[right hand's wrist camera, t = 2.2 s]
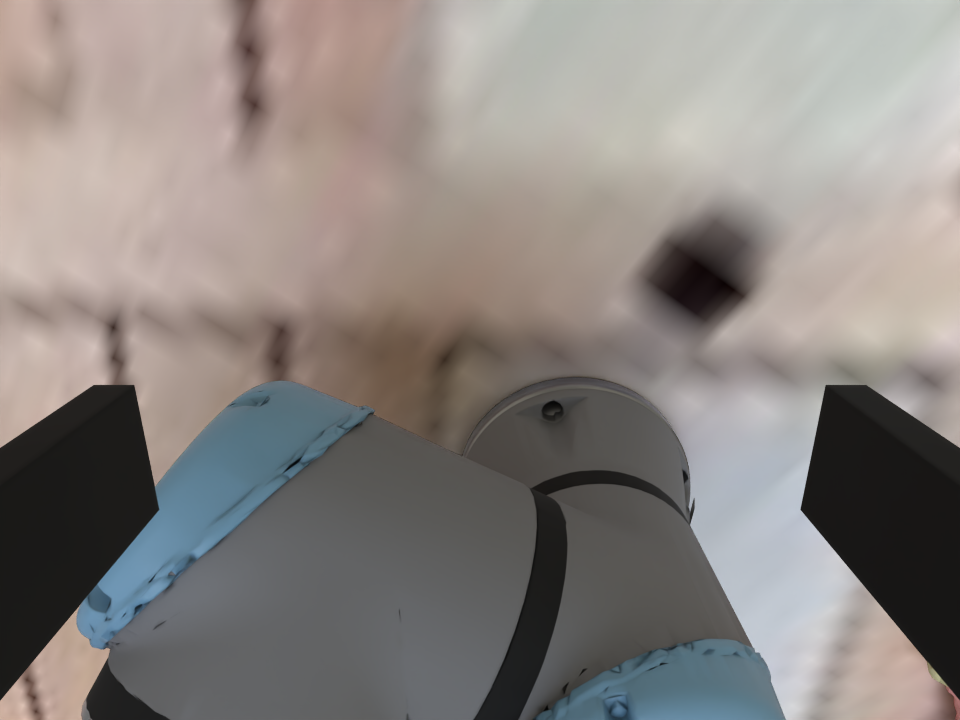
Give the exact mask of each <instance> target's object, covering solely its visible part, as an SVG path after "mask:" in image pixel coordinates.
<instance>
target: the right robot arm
mask: <svg viewBox="0 0 960 720" xmlns="http://www.w3.org/2000/svg"><path fill="white" fill-rule="evenodd" d="M374 412H375V410H374V409H372V408H370V407H368V406H361V407H357V406H354V405H352V404H349V403H347V402H344V401H342V400H339V399H337V398H334V397H332V396H329V395H327V394H324V393H322V392H319V391H317V390H314V389H312V388H309V387H307V386H304V385H302V384H298V383H295V382H290V381H273V382H268V383H264V384H261V385H259V386H256V387H254V388H252V389H250V390H249V391H247V392H245V393H244V394H242V395H241V396H239V397H238V398H237V399H235V400H234V401H233V402H232V403H230V404H229V405H228V406H227V407H226V408H225V409H224V410H223V411H222V412H221V413H220V414H219V415H218V416H216V417H215V418H214V419H213V420H212V421H211V422H210V423H209V424H208V425H207V427H206V428H205V429H204V430H203V431H202V432H201V433H200V434H199V435H198V436H197V437H196V438H195V439H194V441H193V442H192V443H191V444H190V445H189V446H188V447H187V449H186V450H185V451H184V452H183V453H182V454H181V456H180V457H179V458H178V459H177V460H176V462H175V463H174V464H173V465H172V466H171V468H170V469H169V470H168V471H167V473H166V474H165V475H164V476H163V478H162V479H161V480H160V481H159V483H158V484H157V485H156V486H155V485H154V480H153V476H152V471H151V466H150V461H149V456H148V451H147V446H146V441H145V436H144V431H143V426H142V421H141V416H140V411H139V406H138V401H137V396H136V391H135V387H134V385H93V386H92V387H90V388H89V389H87V390H86V391H84V392H83V393H81V394H80V395H78V396H77V397H75V398H74V399H72V400H71V401H69V402H68V403H67V404H65V405H64V406H62V407H61V408H59V409H58V410H56V411H55V412H53V413H52V414H50V415H49V416H47V417H46V418H44V419H43V420H41V421H40V422H38V423H37V424H35V425H34V426H32V427H31V428H29V429H28V430H26V431H25V432H23V433H22V434H20V435H19V436H17V437H16V438H14V439H13V440H12V441H10V442H9V443H7V444H6V445H4V446H3V447H1V448H0V700H1V699H2V698H3V697H4V695H5V694H6V693H7V692H8V691H9V689H10V688H11V687H12V686H13V685H14V683H15V682H16V681H17V680H18V679H19V677H20V676H21V675H22V674H23V673H24V671H25V670H26V669H27V668H28V667H29V665H30V664H31V663H32V662H33V661H34V659H35V658H36V657H37V656H38V655H39V653H40V652H41V651H42V650H43V649H44V647H45V646H46V645H47V644H48V643H49V641H50V640H51V639H52V638H53V637H54V635H55V634H56V633H57V632H58V631H59V629H60V628H61V627H62V626H63V625H64V623H65V622H66V621H67V620H68V619H69V617H70V616H71V615H72V614H73V613H74V611H75V610H76V609H77V608H78V607H79V605H80V604H81V605H80V607H79V610H78V613H77V627H78V630H79V631H80V632H81V634H82V635H84V636H85V637H87V638H88V639H89V640H90V644H91V646H92V647H94V648H99V649H105V648H109V649H110V653H109V657H108V659H107V661H106V663H105V664H104V666H103V668H102V670H101V672H100V674H99V675H98V677H97V679H96V681H95V683H94V685H93V686H92V688H91V690H90V692H89V694H88V696H87V698H86V699H85V701H84V703H83V705H82V714H81V716H82V720H786V719H785V716H784V714H783V712H782V709H781V707H780V704H779V701H778V699H777V696H776V694H775V691H774V688H773V686H772V683H771V675H770V671H769V669H768V666H767V664H766V663H765V661H764V659H763V658H761V655H760V653H755V650H754V648H753V647H752V645H751V643H750V641H749V639H748V637H747V635H746V633H745V631H744V629H743V627H742V625H741V623H740V622H739V620H738V618H737V616H736V614H735V612H734V610H733V608H732V606H731V604H730V602H729V600H728V598H727V596H726V594H725V592H724V591H723V589H722V587H721V585H720V583H719V581H718V579H717V577H716V575H715V573H714V571H713V569H712V567H711V565H710V563H709V561H708V560H707V558H706V556H705V554H704V552H703V550H702V548H701V546H700V544H699V542H698V540H697V538H696V536H695V534H694V533H693V531H692V529H691V527H690V523H691V519H692V516H693V512H694V500H693V504H692V508H691V511H690V510H689V501H690V474H689V466H688V462H687V458H686V455H685V452H684V450H683V447H682V445H681V443H680V441H679V439H678V438H677V436H676V434H675V433H674V431H673V430H672V428H671V426H670V425H669V423H668V422H667V420H666V419H665V418H664V416H663V415H662V414H661V413H660V412H659V411H658V410H657V409H656V408H655V407H654V406H653V405H652V404H651V403H650V402H648V401H647V400H646V399H644V398H643V397H642V396H640V395H638V394H637V393H635V392H633V391H631V390H629V389H627V388H625V387H623V386H620V385H617V384H615V383H611V382H608V381H604V380H599V379H593V378H581V377H576V378H560V379H553V380H548V381H544V382H541V383H537V384H534V385H531V386H529V387H526V388H524V389H522V390H520V391H518V392H516V393H514V394H512V395H510V396H509V397H507V398H506V399H504V400H503V401H501V402H500V403H499V404H497V405H496V406H495V407H494V408H493V409H492V410H491V411H489V412H488V413H487V414H486V415H485V417H484V418H483V419H482V420H481V421H480V422H479V424H478V425H477V427H476V428H475V429H474V431H473V433H472V434H471V436H470V438H469V440H468V442H467V444H466V447H465V449H464V452H463V455H462V456H460V455H458V454H456V453H454V452H452V451H449V450H447V449H445V448H443V447H441V446H439V445H437V444H435V443H432V442H430V441H428V440H426V439H424V438H422V437H420V436H418V435H415V434H413V433H411V432H409V431H407V430H405V429H403V428H401V427H398V426H396V425H394V424H392V423H390V422H388V421H386V420H384V419H382V418H379V417H377V416H375V415H373V414H374ZM801 511H802V512H803V513H804V514H805V516H806V517H807V518H808V519H809V520H810V522H811V523H812V524H813V525H814V526H815V528H816V529H817V530H818V531H819V532H820V534H821V535H822V536H823V537H824V538H825V540H826V541H827V542H828V543H829V544H830V546H831V547H832V548H833V549H834V550H835V552H836V553H837V554H838V555H839V556H840V558H841V559H842V560H843V561H844V562H845V564H846V565H847V566H848V567H849V568H850V570H851V571H852V572H853V573H854V574H855V576H856V577H857V578H858V579H859V580H860V582H861V583H862V584H863V585H864V586H865V588H866V589H867V590H868V591H869V592H870V593H871V595H872V596H873V597H874V598H875V599H876V601H877V602H878V603H879V604H880V605H881V607H882V608H883V609H884V610H885V611H886V613H887V614H888V615H889V616H890V617H891V619H892V620H893V621H894V622H895V623H896V625H897V626H898V627H899V628H900V629H901V631H902V632H903V633H904V634H905V635H906V637H907V638H908V639H909V640H910V641H911V643H912V644H913V645H914V646H915V647H916V649H917V650H918V651H919V652H920V653H921V655H922V656H923V657H924V658H925V659H926V661H927V662H928V663H929V664H930V665H931V667H932V668H933V669H934V670H935V671H936V673H937V674H938V675H939V676H940V677H941V679H942V680H943V681H944V682H945V683H946V685H947V686H948V687H949V688H950V689H951V691H952V692H953V693H954V694H955V695H956V697H957V698H958V699H959V700H960V448H959V447H957V446H956V445H954V444H953V443H951V442H950V441H948V440H947V439H946V438H944V437H943V436H941V435H940V434H938V433H937V432H935V431H934V430H932V429H931V428H929V427H928V426H926V425H925V424H923V423H922V422H920V421H919V420H917V419H916V418H914V417H913V416H911V415H910V414H908V413H907V412H905V411H904V410H902V409H901V408H899V407H898V406H896V405H895V404H893V403H892V402H891V401H889V400H888V399H886V398H885V397H883V396H882V395H880V394H879V393H877V392H876V391H874V390H873V389H871V388H870V387H868V386H867V385H826V387H825V391H824V396H823V401H822V406H821V411H820V416H819V421H818V426H817V431H816V436H815V441H814V446H813V451H812V456H811V461H810V466H809V471H808V476H807V480H806V485H805V490H804V495H803V500H802V505H801Z"/></svg>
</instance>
